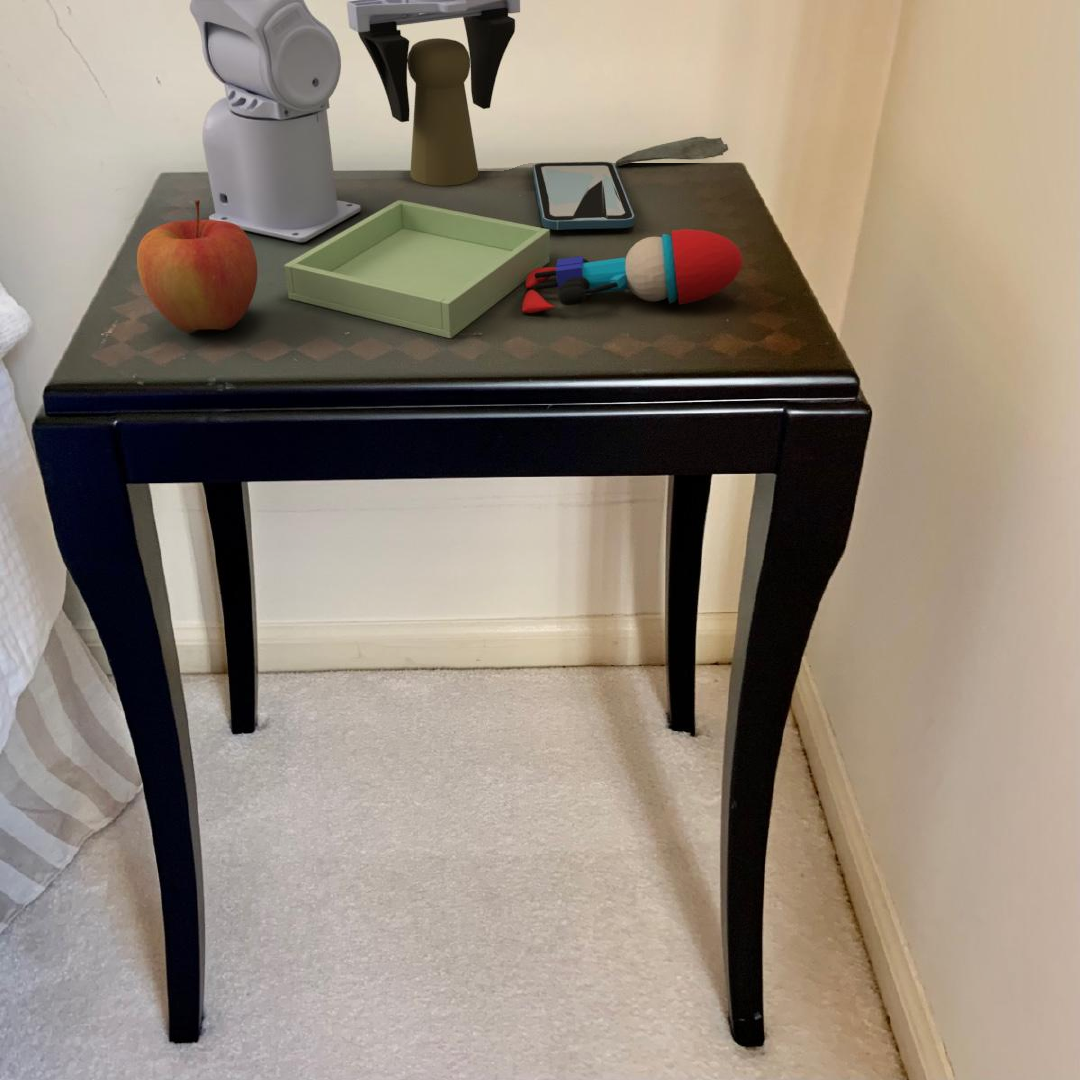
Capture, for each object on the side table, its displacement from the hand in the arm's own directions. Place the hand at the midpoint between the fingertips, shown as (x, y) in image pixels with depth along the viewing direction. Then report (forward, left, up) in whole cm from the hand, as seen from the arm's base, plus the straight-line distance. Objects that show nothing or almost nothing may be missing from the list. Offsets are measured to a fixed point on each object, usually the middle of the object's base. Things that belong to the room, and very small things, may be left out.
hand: (441, 112), depth 94 cm
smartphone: (+14, -1, -5) cm, 15 cm away
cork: (0, 0, -6) cm, 6 cm away
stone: (+18, +12, -5) cm, 22 cm away
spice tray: (+10, -20, -5) cm, 23 cm away
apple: (+2, -33, -6) cm, 34 cm away
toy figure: (+25, -16, -6) cm, 30 cm away
